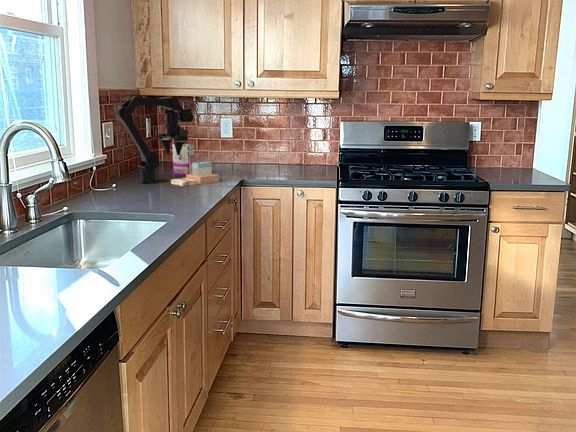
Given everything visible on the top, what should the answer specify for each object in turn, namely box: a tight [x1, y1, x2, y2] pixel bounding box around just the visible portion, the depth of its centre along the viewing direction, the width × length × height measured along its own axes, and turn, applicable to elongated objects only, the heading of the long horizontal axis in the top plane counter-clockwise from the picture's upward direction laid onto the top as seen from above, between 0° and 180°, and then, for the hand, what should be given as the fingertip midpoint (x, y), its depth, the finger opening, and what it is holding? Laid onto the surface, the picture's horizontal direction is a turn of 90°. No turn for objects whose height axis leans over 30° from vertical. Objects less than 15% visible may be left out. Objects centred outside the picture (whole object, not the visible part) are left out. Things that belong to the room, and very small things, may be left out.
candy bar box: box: [171, 143, 195, 177], centre depth 303 cm, size 11×5×16 cm, turn 61°
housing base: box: [192, 167, 213, 176], centre depth 282 cm, size 5×8×4 cm, turn 134°
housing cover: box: [192, 161, 213, 168], centre depth 281 cm, size 5×8×3 cm, turn 133°
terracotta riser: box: [185, 173, 219, 185], centre depth 282 cm, size 11×12×4 cm
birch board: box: [170, 177, 198, 187], centre depth 275 cm, size 8×10×2 cm
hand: (173, 154), depth 284 cm, fingers open, 9 cm apart
